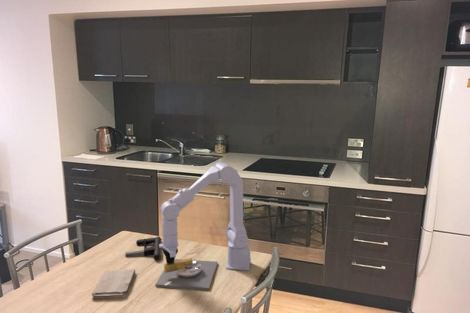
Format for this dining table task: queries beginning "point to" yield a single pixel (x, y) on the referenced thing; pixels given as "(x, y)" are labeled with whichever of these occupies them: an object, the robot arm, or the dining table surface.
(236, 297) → the dining table surface
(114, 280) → the washcloth
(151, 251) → the door handle
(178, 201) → the robot arm
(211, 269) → the nut board
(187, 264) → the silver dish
